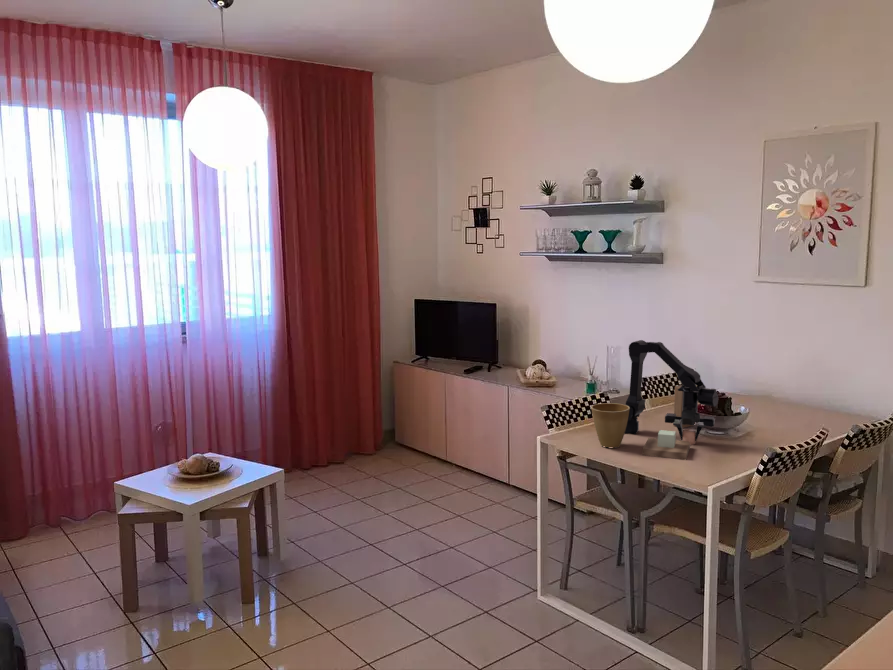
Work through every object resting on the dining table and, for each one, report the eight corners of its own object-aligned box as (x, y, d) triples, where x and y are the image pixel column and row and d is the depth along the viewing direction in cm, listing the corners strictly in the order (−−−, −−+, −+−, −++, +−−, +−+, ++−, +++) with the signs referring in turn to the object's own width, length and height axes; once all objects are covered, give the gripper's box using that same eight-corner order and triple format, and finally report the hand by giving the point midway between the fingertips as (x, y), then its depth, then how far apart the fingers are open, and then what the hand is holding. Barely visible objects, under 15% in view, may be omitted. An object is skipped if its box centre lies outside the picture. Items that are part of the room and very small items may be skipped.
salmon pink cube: (681, 443, 293) (681, 431, 292) (683, 440, 297) (683, 428, 297) (694, 445, 291) (694, 433, 290) (696, 441, 295) (696, 429, 294)
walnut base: (642, 455, 279) (642, 448, 279) (648, 443, 294) (648, 437, 293) (686, 459, 273) (686, 453, 272) (689, 447, 287) (690, 441, 287)
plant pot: (624, 440, 299) (625, 402, 297) (632, 451, 284) (633, 411, 282) (588, 440, 299) (588, 402, 297) (594, 451, 285) (594, 411, 282)
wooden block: (688, 423, 323) (689, 383, 321) (695, 425, 319) (697, 385, 317) (673, 426, 319) (674, 386, 316) (681, 428, 315) (682, 388, 313)
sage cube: (657, 446, 281) (657, 434, 281) (659, 442, 287) (659, 430, 286) (673, 448, 279) (674, 435, 278) (675, 443, 284) (675, 431, 284)
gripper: (663, 405, 288) (662, 443, 290) (713, 409, 281) (712, 448, 283) (666, 399, 298) (665, 436, 300) (715, 402, 291) (713, 440, 293)
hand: (688, 440), depth 294 cm, fingers closed on salmon pink cube, 5 cm apart
